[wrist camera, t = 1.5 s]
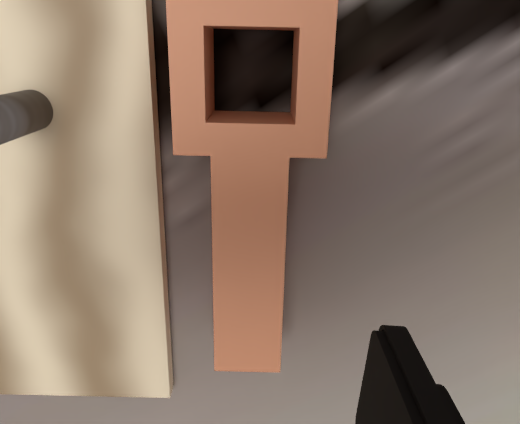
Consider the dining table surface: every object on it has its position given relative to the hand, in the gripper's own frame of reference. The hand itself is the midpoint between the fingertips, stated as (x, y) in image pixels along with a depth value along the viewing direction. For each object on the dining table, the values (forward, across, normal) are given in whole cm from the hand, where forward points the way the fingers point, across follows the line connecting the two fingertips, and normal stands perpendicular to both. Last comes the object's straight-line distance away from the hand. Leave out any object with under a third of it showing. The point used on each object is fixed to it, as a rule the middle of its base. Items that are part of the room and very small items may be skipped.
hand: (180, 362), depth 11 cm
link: (+15, -1, 0) cm, 15 cm away
